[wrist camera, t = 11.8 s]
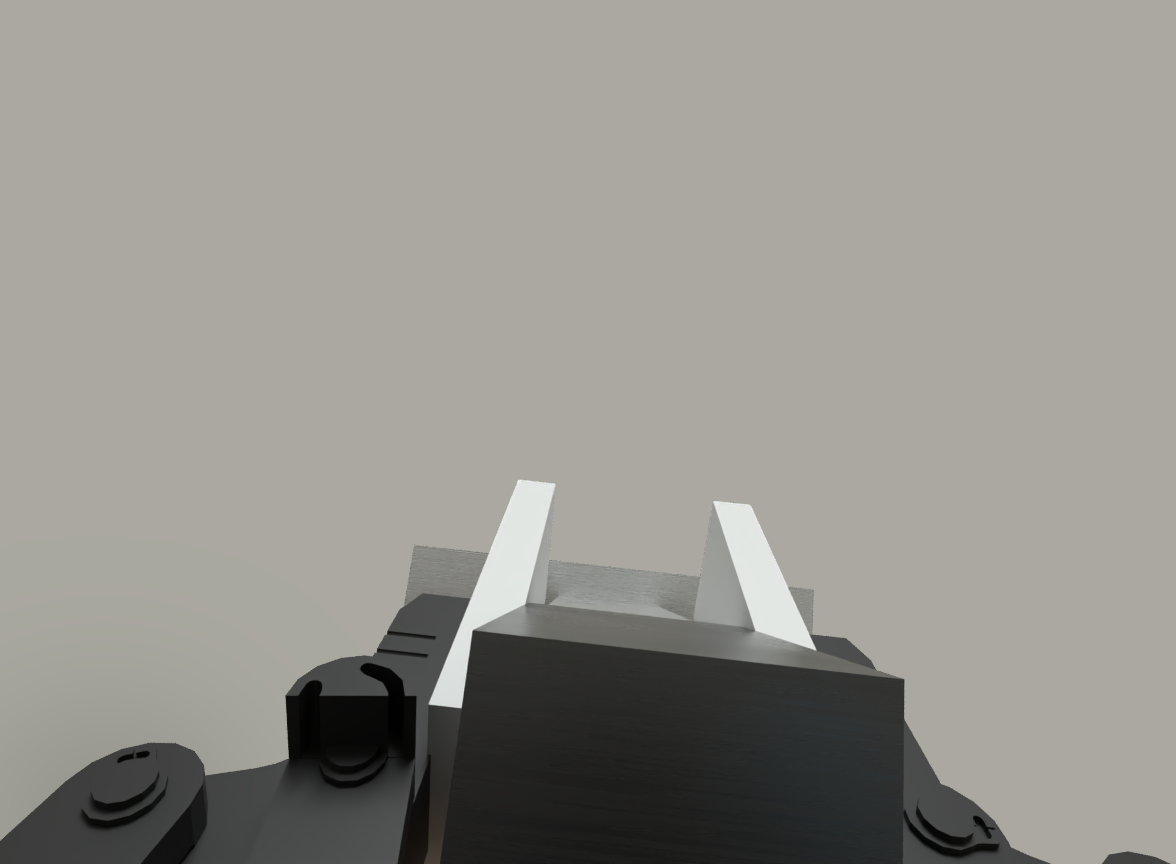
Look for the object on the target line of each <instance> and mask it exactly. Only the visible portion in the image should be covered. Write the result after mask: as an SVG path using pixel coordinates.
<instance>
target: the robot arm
mask: <svg viewBox="0 0 1176 864" xmlns="http://www.w3.org/2000/svg"><path fill="white" fill-rule="evenodd" d="M554 496H555V484H552V483H544V482H535V481H526V480H518V483H517V485H516V487H515V490H514V492H513V495H512V497H511V500H510V502H509V505H508V507H507V510H506V512H505V515H504V517H503V520H502V523H501V525H500V527H499V530H498V532H497V535H496V537H495V540H494V542H493V545H492V547H491V550H490V552H489V555H488V557H487V560H486V562H485V565H484V567H483V570H482V572H481V575H480V577H479V580H478V582H477V585H476V587H475V590H474V592H473V595H472V597H471V599H470V598H461V597H452V596H443V595H434V594H425V593H422V594H421V595H419V596H418V597H417V598H415V599H414V600H412V601H411V602H410V603H408V604H407V605H406V606H404V607H403V608H401V609H400V610H399V612H398V613H397V615H396V617H395V619H394V620H393V622H392V624H391V626H390V627H389V629H388V632H387V635H385V636H384V638H383V640H382V641H381V643H380V645H379V647H378V648H377V653H375V654H374V655H373V657H372V656H356V657H347V658H340V659H337V660H334V661H331V662H329V663H326V664H323V665H320V666H317V667H316V668H314V669H313V670H311V671H310V672H308V673H307V674H305V675H304V676H302V677H301V678H300V679H298V680H297V681H296V683H295V684H294V685H293V687H292V688H291V689H290V691H289V692H288V693H287V695H286V712H287V731H288V750H289V759H287V760H284V761H282V762H279V763H277V764H272V765H268V766H264V767H260V768H255V769H248V770H241V771H234V772H228V773H220V774H213V775H207V776H205V772H204V765H203V763H202V762H201V760H200V759H199V757H198V756H197V754H196V753H195V751H193V750H191V749H188V748H186V747H183V746H181V745H178V744H176V743H147V744H143V745H139V746H134V747H130V748H125V749H121V750H119V751H117V752H114V753H112V754H110V755H108V756H105V757H103V758H101V759H99V760H96V761H95V762H92V763H91V764H89V765H88V766H87V767H85V768H84V769H82V770H81V771H80V772H78V773H77V774H75V775H74V776H73V777H71V778H70V779H68V780H67V781H66V782H65V783H64V784H62V785H61V786H60V787H59V788H58V789H57V790H56V791H55V792H54V793H52V794H51V795H50V796H49V797H48V798H47V799H46V800H45V801H44V802H43V803H42V804H40V805H39V806H38V807H37V808H36V809H35V810H34V811H33V812H32V813H30V815H28V816H27V817H26V818H25V819H24V820H23V821H22V822H21V823H20V824H18V825H17V826H16V827H15V828H14V829H13V830H12V831H11V832H10V833H8V834H7V835H6V836H5V837H4V838H3V839H2V840H1V841H0V864H440V858H441V851H442V844H443V837H444V830H445V822H446V815H447V808H448V801H449V794H450V787H451V780H452V773H453V766H454V758H455V751H456V744H457V737H458V730H459V723H460V716H461V709H462V702H463V695H464V687H465V680H466V673H467V666H468V659H469V652H470V645H471V638H472V631H473V630H474V629H476V628H478V627H480V626H482V625H484V624H486V623H488V622H490V621H492V620H494V619H496V618H498V617H500V616H502V615H504V614H506V613H508V612H510V611H512V610H514V609H516V608H518V607H520V606H522V605H526V604H528V603H537V604H545V598H546V587H547V576H548V564H549V552H550V542H551V530H552V519H553V507H554ZM694 621H697V622H706V623H715V624H724V625H732V626H741V627H745V628H748V629H751V630H754V631H758V632H761V633H764V634H767V635H770V636H773V637H776V638H780V639H783V640H786V641H789V642H792V643H795V644H798V645H801V646H804V647H807V648H810V649H813V650H816V651H819V652H822V653H825V654H828V655H831V656H835V657H838V658H841V659H844V660H847V661H850V662H853V663H856V664H859V665H862V666H865V667H868V668H871V669H874V670H876V669H875V667H874V665H873V664H872V662H871V660H870V659H869V658H867V657H866V656H865V655H864V654H863V653H862V652H861V651H860V650H859V649H857V648H856V647H855V646H854V645H853V644H852V643H851V642H850V641H848V640H847V639H846V638H837V637H829V636H819V635H811V634H809V633H808V630H807V628H806V626H805V624H804V622H803V619H802V617H801V615H800V613H799V611H798V608H797V606H796V604H795V602H794V600H793V597H792V595H791V593H790V591H789V589H788V586H787V584H786V582H785V580H784V578H783V575H782V573H781V571H780V569H779V567H778V564H777V562H776V560H775V558H774V556H773V553H772V552H771V549H770V547H769V545H768V542H767V540H766V538H765V536H764V534H763V532H762V529H761V527H760V525H759V523H758V520H757V518H756V516H755V514H754V512H753V509H752V507H751V505H746V504H736V503H727V502H718V501H713V504H712V511H711V516H710V523H709V528H708V535H707V540H706V546H705V552H704V558H703V564H702V570H701V575H700V581H699V587H698V593H697V599H696V605H695V611H694ZM903 864H1050V863H1047V862H1045V861H1042V860H1039V859H1037V858H1034V857H1031V856H1029V855H1026V854H1024V853H1022V852H1020V851H1017V850H1015V849H1013V848H1011V847H1010V845H1009V842H1008V841H1007V839H1006V838H1005V836H1004V835H1003V833H1002V832H1001V830H1000V829H999V827H998V826H997V824H996V823H995V821H994V820H993V819H992V818H991V817H989V816H988V815H987V814H986V813H985V812H984V811H983V810H982V809H981V808H980V807H979V806H978V805H976V804H975V803H974V802H973V801H971V800H969V799H968V798H966V797H965V796H963V795H961V794H960V793H958V792H956V791H955V790H953V789H952V788H950V787H947V786H945V785H942V784H940V782H939V780H938V778H937V776H936V775H935V773H934V771H933V769H932V767H931V766H930V764H929V762H928V761H927V759H926V757H925V755H924V753H923V752H922V750H921V748H920V746H919V745H918V743H917V741H916V739H915V738H914V736H913V734H912V732H911V730H910V729H909V727H908V725H907V724H906V722H905V720H904V791H903ZM1102 864H1170V863H1167V862H1165V861H1163V860H1161V859H1158V858H1156V857H1152V856H1148V855H1143V854H1138V853H1133V852H1122V853H1116V854H1110V855H1108V857H1107V858H1106V859H1105V861H1104V862H1103V863H1102Z"/></svg>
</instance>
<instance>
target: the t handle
mask: <svg viewBox="0 0 1176 864" xmlns="http://www.w3.org/2000/svg"><path fill="white" fill-rule="evenodd" d="M488 555H489V553H480V552H471V551H463V550H453V549H445V548H436V547H427V546H418V545H414V549H413V555H412V561H411V567H410V573H409V580H408V585H407V591H406V598H405V604H404V606H406V605H407V604H408V603H410V602H411V601H412V600H414V599H415V598H417V597H418V596H419V595H421V594H422V593H425V594H434V595H443V596H452V597H461V598H470V599H471V597H472V595H473V592H474V590H475V587H476V585H477V582H478V580H479V577H480V575H481V572H482V570H483V567H484V565H485V562H486V560H487V557H488ZM699 581H700V577H696V576H687V575H678V574H668V573H660V572H650V571H642V570H633V569H624V568H615V567H606V566H598V565H589V564H580V563H571V562H562V561H552V560H549V564H548V576H547V587H546V598H545V604H537V603H528V604H526V605H522V606H520V607H518V608H516V609H514V610H512V611H510V612H508V613H506V614H504V615H502V616H500V617H498V618H496V619H494V620H492V621H490V622H488V623H486V624H484V625H482V626H480V627H478V628H476V629H474V630H473V631H472V638H471V645H470V652H469V659H468V666H467V673H466V680H465V687H464V695H463V702H462V709H461V716H460V723H459V730H458V737H457V744H456V751H455V758H454V766H453V773H452V780H451V787H450V794H449V801H448V808H447V815H446V822H445V830H444V837H443V844H442V851H441V858H440V864H903V791H904V679H901V678H898V677H895V676H892V675H890V674H886V673H883V672H880V671H877V670H874V669H871V668H868V667H865V666H862V665H859V664H856V663H853V662H850V661H847V660H844V659H841V658H838V657H835V656H831V655H828V654H825V653H822V652H819V651H816V650H813V649H810V648H807V647H804V646H801V645H798V644H795V643H792V642H789V641H786V640H783V639H780V638H776V637H773V636H770V635H767V634H764V633H761V632H758V631H754V630H751V629H748V628H745V627H741V626H732V625H724V624H715V623H706V622H697V621H694V611H695V605H696V599H697V593H698V587H699ZM788 589H789V591H790V593H791V595H792V597H793V600H794V602H795V604H796V606H797V608H798V611H799V613H800V615H801V617H802V619H803V622H804V624H805V626H806V628H807V630H808V633H809V634H811V635H812V623H813V595H814V590H812V589H804V588H794V587H788Z"/></svg>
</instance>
